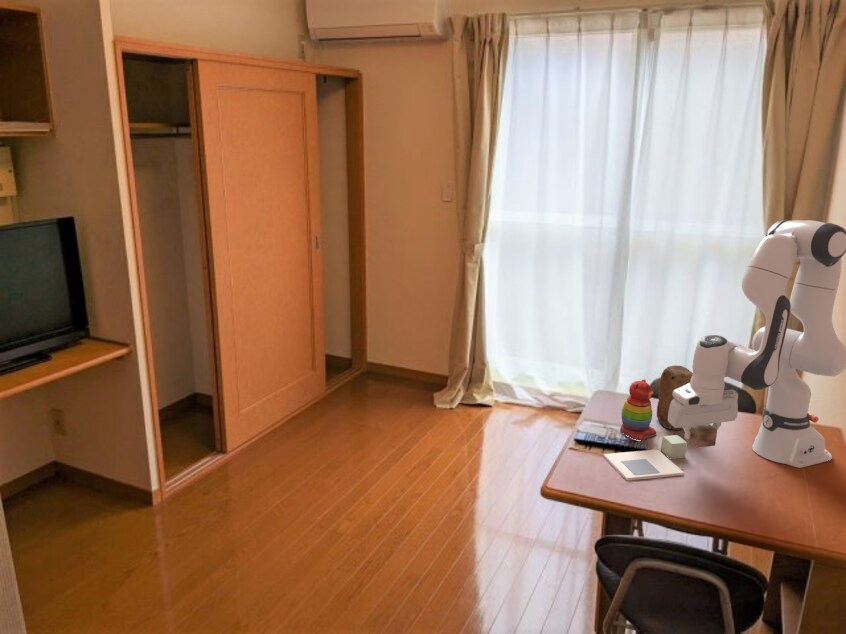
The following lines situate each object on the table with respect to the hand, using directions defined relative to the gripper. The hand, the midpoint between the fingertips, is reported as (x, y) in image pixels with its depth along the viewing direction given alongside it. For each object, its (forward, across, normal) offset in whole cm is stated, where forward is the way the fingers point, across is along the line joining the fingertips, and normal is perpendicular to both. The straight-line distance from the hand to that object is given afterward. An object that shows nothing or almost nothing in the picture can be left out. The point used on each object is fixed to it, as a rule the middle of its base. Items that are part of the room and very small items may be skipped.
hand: (700, 436), depth 191 cm
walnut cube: (+2, 0, 0) cm, 2 cm away
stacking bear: (+11, +5, -25) cm, 28 cm away
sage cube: (+11, +1, -10) cm, 15 cm away
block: (+12, -10, -29) cm, 32 cm away
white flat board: (+10, +14, -5) cm, 18 cm away
